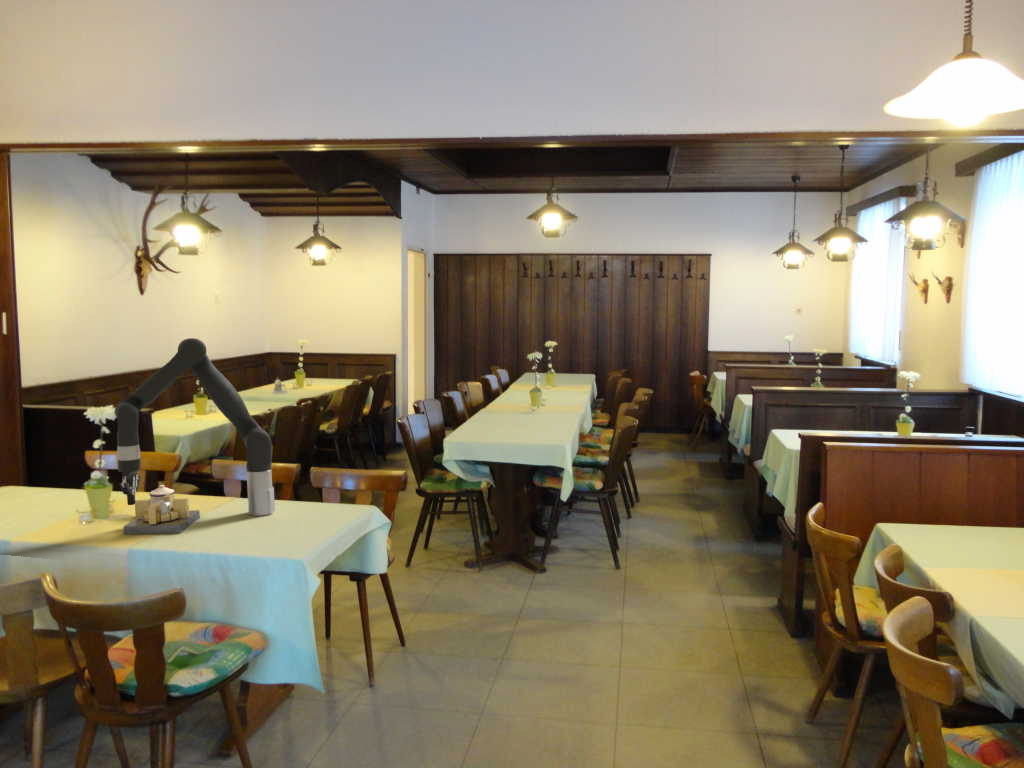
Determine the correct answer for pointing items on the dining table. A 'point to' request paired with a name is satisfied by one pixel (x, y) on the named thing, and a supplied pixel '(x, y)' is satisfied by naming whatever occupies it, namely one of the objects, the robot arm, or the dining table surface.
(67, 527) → the dining table surface
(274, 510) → the robot arm
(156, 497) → the teacup with lid
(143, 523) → the gray flat tray
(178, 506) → the tan blocky ring
